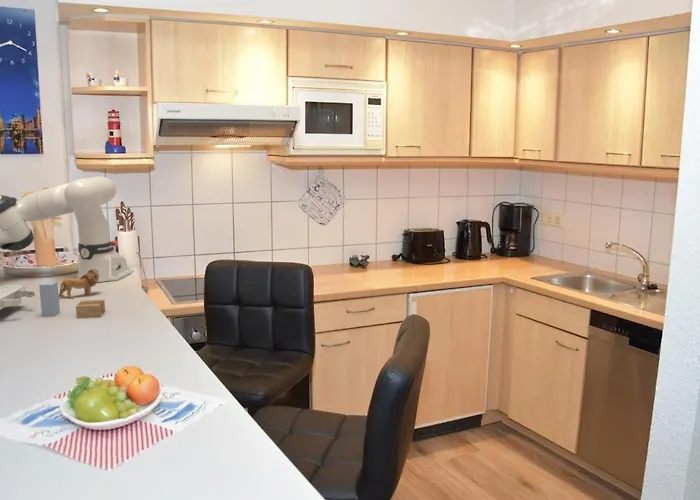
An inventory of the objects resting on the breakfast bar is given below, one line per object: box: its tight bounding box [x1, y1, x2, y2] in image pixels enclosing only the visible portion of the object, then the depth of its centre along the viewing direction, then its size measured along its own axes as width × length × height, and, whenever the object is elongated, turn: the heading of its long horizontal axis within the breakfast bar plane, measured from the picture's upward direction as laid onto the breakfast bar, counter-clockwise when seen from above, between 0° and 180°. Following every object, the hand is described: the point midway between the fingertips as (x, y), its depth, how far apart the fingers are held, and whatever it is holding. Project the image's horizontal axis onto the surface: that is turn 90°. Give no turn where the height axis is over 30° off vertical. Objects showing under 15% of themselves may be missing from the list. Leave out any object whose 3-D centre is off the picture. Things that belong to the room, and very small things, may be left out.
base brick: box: [75, 299, 106, 319], centre depth 207 cm, size 7×7×4 cm
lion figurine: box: [58, 269, 99, 299], centre depth 227 cm, size 15×5×9 cm, turn 131°
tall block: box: [38, 281, 61, 317], centre depth 206 cm, size 4×4×10 cm
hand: (26, 297), depth 205 cm, fingers open, 8 cm apart
